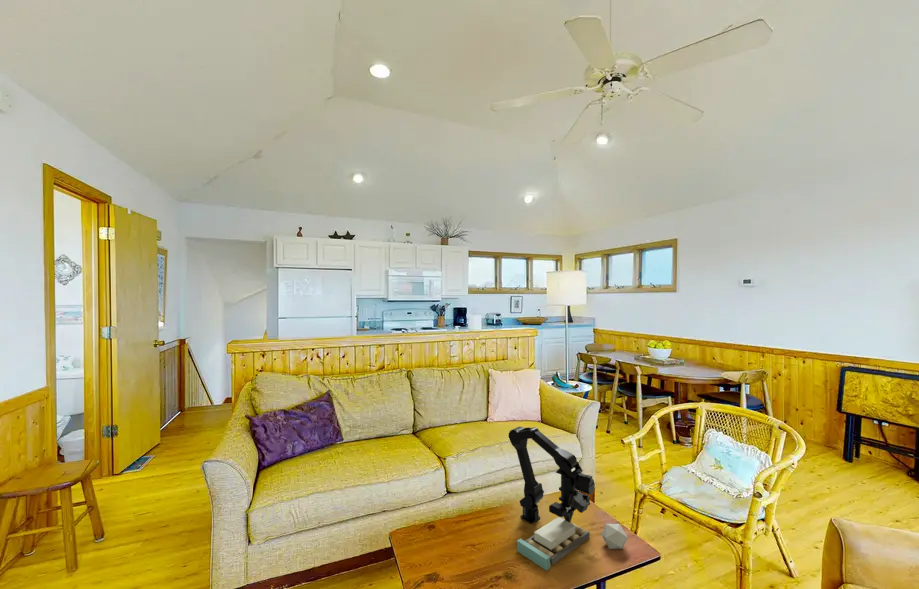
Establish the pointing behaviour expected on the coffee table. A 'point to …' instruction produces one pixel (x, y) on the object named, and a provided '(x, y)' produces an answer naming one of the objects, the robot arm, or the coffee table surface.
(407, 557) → the coffee table surface
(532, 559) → the stop bar
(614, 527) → the die
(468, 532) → the coffee table surface
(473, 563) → the coffee table surface
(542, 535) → the slab
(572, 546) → the roller bed
